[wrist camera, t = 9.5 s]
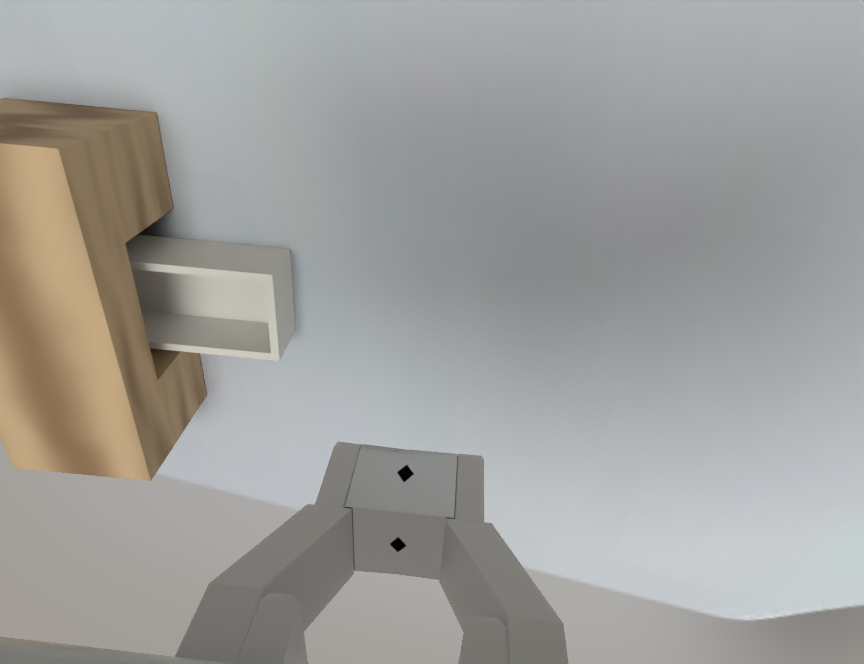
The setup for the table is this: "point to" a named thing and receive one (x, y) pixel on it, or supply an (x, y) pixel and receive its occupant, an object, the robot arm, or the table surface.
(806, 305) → the table surface
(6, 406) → the overhang dock
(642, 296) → the table surface
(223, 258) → the white drawer
